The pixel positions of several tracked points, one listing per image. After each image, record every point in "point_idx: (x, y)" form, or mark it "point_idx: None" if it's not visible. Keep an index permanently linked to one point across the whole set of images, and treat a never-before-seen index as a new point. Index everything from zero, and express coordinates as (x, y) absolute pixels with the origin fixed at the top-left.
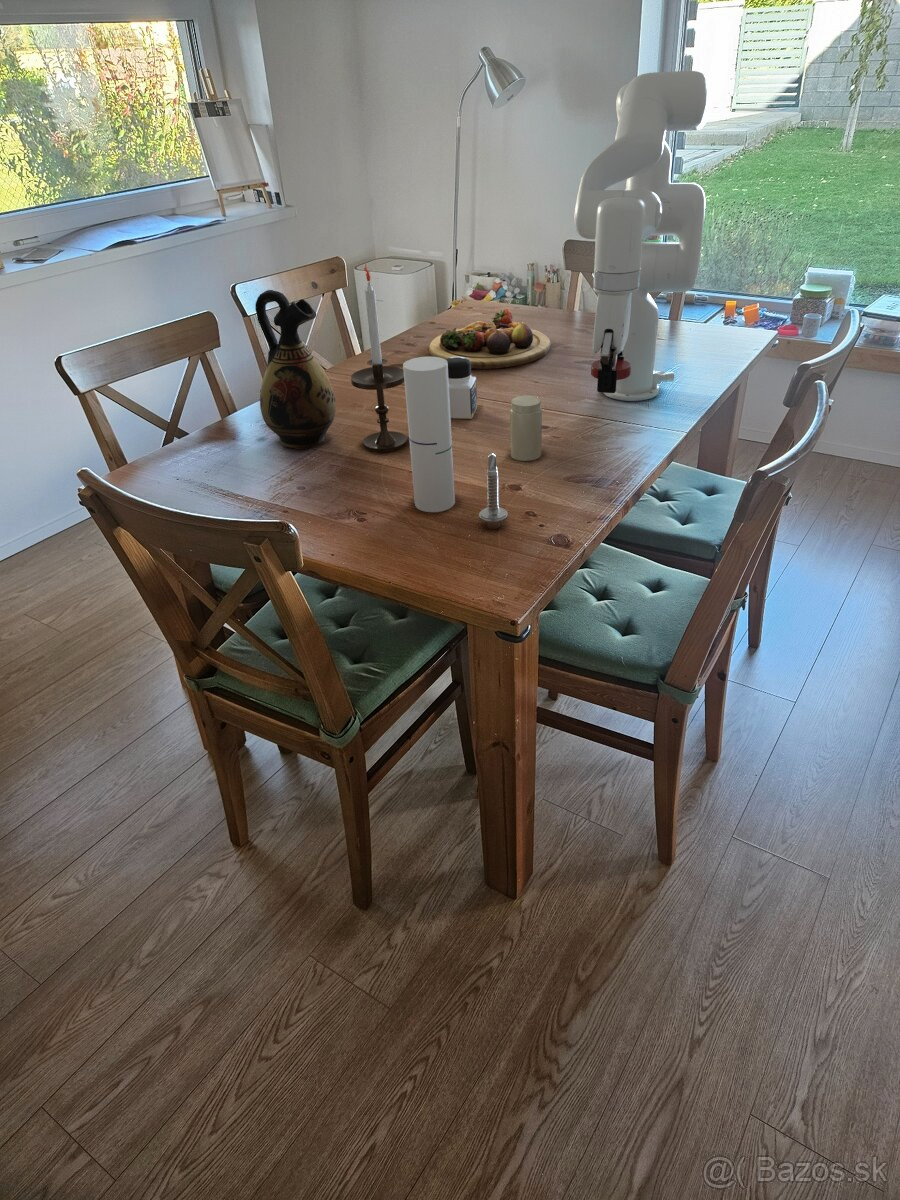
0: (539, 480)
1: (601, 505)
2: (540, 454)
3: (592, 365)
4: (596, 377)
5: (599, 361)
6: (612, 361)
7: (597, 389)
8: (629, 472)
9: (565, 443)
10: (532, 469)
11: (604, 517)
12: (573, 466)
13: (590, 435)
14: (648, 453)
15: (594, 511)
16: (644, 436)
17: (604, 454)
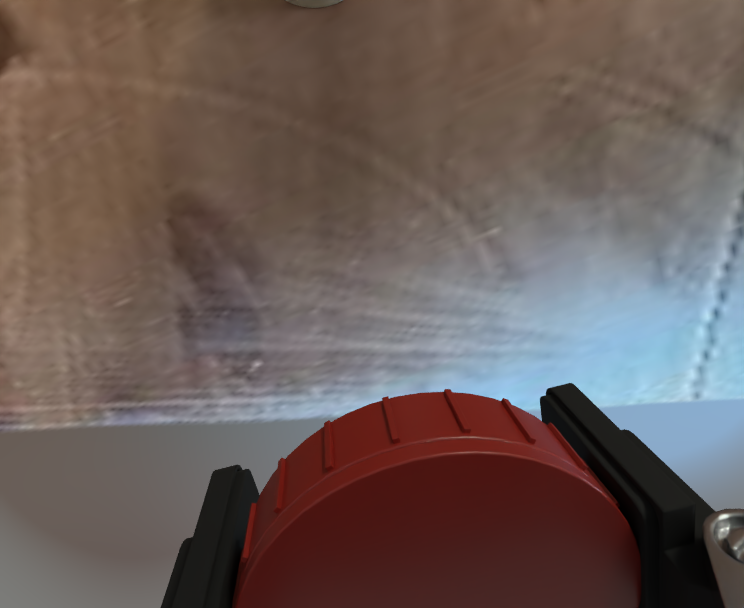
0: (112, 111)
1: (72, 388)
2: (320, 5)
3: (337, 493)
4: (259, 501)
5: (508, 498)
6: (548, 598)
7: (211, 479)
8: (339, 371)
9: (490, 55)
10: (188, 33)
11: (5, 425)
12: (297, 183)
13: (597, 123)
14: (501, 368)
15: (20, 386)
16: (633, 308)
17: (443, 244)
